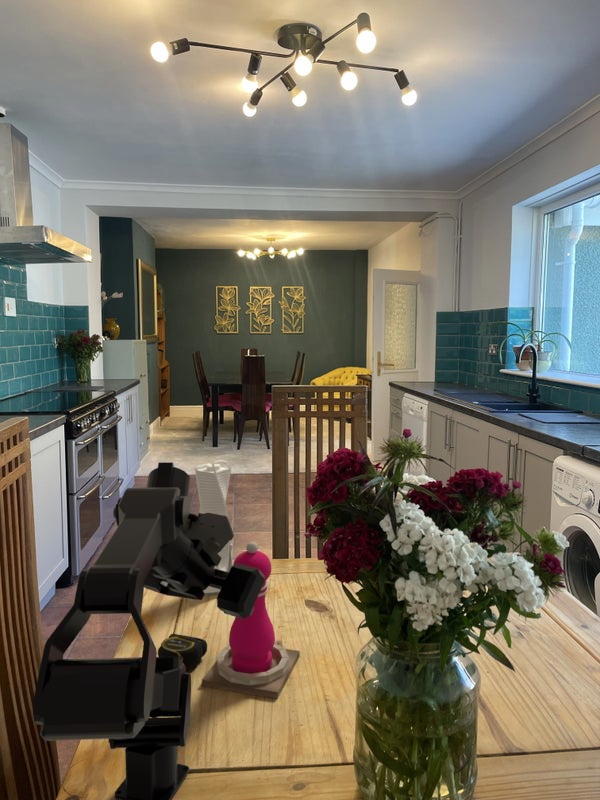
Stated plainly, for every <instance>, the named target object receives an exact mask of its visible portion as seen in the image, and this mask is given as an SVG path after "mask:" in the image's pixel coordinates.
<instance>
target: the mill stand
mask: <svg viewBox="0 0 600 800" xmlns="http://www.w3.org/2000/svg"><path fill="white" fill-rule="evenodd" d="M270 651H271V653H272V666H271V668H270V669H269V670H268V671H266V672H260V673H253V674H248V673H242V672H236V671H235V670H234V669H233V667H232V654H233V652H234V651H233V650H232V649H231V647H230V645H229V644H228V645H227V646H225V647H223V648H222V649H221V651H220V653H219V654H217V656H216V660H215V662H214V663H213V665H211V667H210V668H209V669H208V671H207V673H206V674H205V675H204V676H203V677H202V678H201V686H202V687H208V688H211V689H212V688H214V689H219V690H225V691H231V692H236V693H242V694H247V695H255V696H260V697H266V698H269V699H277V700H278V698H279V697H280V696H281V693H282V691H283V689H284V688H285V686H286V684H287V681H288V680H289V678H290V676H291V674H292V673H293V671H294V668H295V666H296V665H297V662H298V660H299V659H300V653H301V651H300V650H296V649H289V648H285V647H283V646H282V645H280V644H277V642H275V643H274V646H273V648H272V649H271V650H270Z"/></svg>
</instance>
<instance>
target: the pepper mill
mask: <svg viewBox="0 0 600 800" xmlns="http://www.w3.org/2000/svg"><path fill="white" fill-rule="evenodd" d="M258 548H259V547H258V543H256V542H254V541H250V542H248V543H247V544H246V548H245V549H246V551H243V552H240V553H239V554H238V555H237V556H236V557H235V559H234V561H233V566H234V565H236V564H242V565H246V566H250V567H254V568H258V569H259V570H260V571H261V573H262V574H263V575H264V577H265V581H264V584H263V586H262V588H261V590H260V593H259V595H258V597H257V600H256V602H255V604H254V611H253V613H252V615H249V616H248V617H247V618H245V619H242V618H238V617H234V620H233V622H232V625H231V626H230V630H229V635H228V636H229V637H228V645H230V647H231V649H232V650H233V651H234V652H233V654H232V667H233V669H234V670H235V671H236V672H242V673H248V674H253V673H260V672H266V671H268V670H269V669H270V668H271V666H272V653H271V651H270V650H271V649H272V648H273V646H274V643H276V636H275V635H276V634H275V630H274V626H273V622H272V621H271V618H270V616H269V614H268V609H267V606H266V594H267V593H268V592H269V588H268V586H269V582H268V579H269V577H270V576H271V574H272V562H271V559H270V558H269V556H268V555H267V554H266V553H264V552H262V551H260V550H258Z"/></svg>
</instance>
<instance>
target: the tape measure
mask: <svg viewBox="0 0 600 800" xmlns="http://www.w3.org/2000/svg"><path fill="white" fill-rule="evenodd" d="M207 651H208V642H207V641H206V640H205V639H203V638H201V637H196V636H195V637H194V636H189V635H183V634H177V633H171V634H169V636H168V637H167V638H165V639H164V640H162V642H161V643H160V646H159V647H158V649H157V657H183V661H182V663H183V664H184V665H185V666H186V671H187V670H190V669H192V668H194V667H195V666H197V665H198V664H200V662H201V660H202V658H203V657H204V656H206V654H207Z"/></svg>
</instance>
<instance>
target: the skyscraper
mask: <svg viewBox="0 0 600 800" xmlns="http://www.w3.org/2000/svg"><path fill="white" fill-rule="evenodd" d="M218 463H224V464H226V465H227V468H226V467H222V466H221V464H218ZM194 472H195V479H196V481H195V482H196V487H197V493H198V494H197V495H198V500H199V511H198V512H199V513H202V514H205V513H213V514H218V515H223V516H226V517H228V520H229V521H230V519H229V512H228V507H227V497H228V492H229V485H230V479H231V474H232V473H231V472H232V467H231V465H230V464H229V462H228V461H227V460H225V459H217V460H215V461H213V462H212V463H202V464H199V465H197V466H195V468H194ZM199 513H198V514H199ZM233 546H234V545H233V543H232V540H230V541H229V542H228V543H227V544H226V545H225V547H224V548H223V549H222V550H221V551H220V552H219V553H217V554H218V555H219V556H220V557H221V558H222V559H221V561H220V563H219V565H218V566H215V567H214V569H218V570H222V571H226V572H229V571H230V569H231V567H232V566H233V563H234V561H233V559H234V558H233V553H234V552H233V550H234V549H233ZM203 592H204V593H205V595H204V597H207V596H214V595H215V596H216V595H217V596H218V594H219V592H220V589H217V588H213V587H210V586H208V587H207V588H206V589H205V590H204V591H203Z"/></svg>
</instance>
